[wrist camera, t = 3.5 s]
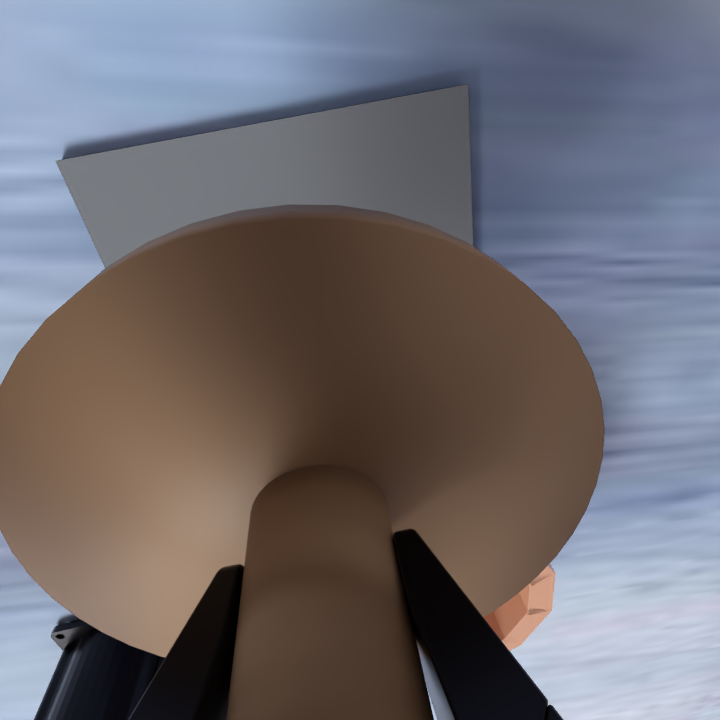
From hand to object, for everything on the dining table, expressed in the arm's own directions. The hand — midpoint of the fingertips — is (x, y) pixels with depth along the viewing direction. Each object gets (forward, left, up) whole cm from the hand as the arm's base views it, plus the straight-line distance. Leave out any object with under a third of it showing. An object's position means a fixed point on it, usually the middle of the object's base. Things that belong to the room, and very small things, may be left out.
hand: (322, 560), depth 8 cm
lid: (0, 0, -2) cm, 2 cm away
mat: (0, 0, -12) cm, 12 cm away
